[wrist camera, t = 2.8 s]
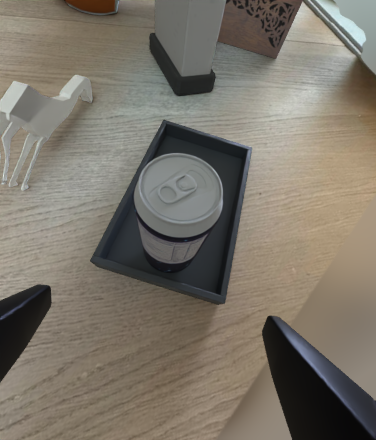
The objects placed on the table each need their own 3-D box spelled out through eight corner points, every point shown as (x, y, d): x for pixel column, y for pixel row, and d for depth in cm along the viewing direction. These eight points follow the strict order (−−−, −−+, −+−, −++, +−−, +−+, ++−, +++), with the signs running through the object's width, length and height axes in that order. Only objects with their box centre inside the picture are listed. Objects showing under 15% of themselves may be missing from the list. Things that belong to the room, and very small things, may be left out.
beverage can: (204, 255, 22) (249, 199, 12) (162, 285, 20) (167, 252, 9) (176, 217, 24) (191, 136, 13) (133, 241, 22) (111, 170, 11)
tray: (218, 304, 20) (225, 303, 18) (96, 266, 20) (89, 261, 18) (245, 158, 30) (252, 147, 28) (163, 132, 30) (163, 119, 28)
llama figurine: (61, 201, 29) (97, 90, 31) (-13, 181, 18) (49, 7, 19) (49, 197, 29) (85, 87, 31) (-33, 175, 18) (30, 2, 19)
